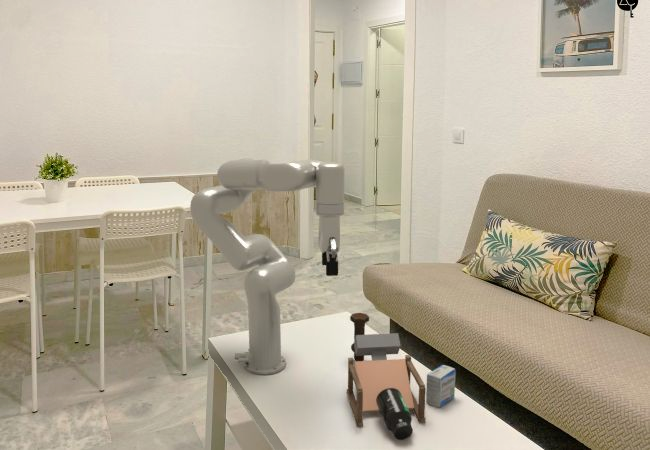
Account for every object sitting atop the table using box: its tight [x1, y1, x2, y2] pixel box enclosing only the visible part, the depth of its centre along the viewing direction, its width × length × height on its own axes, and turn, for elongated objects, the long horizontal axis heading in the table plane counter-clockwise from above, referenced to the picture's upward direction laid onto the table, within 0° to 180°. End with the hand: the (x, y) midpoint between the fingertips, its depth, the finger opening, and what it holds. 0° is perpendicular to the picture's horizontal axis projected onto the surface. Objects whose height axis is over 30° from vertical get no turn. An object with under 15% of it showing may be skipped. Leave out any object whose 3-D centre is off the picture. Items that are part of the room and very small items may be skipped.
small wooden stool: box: [346, 354, 427, 428], centre depth 158 cm, size 18×17×11 cm
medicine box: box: [425, 364, 457, 409], centre depth 162 cm, size 8×4×9 cm, turn 138°
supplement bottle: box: [376, 388, 414, 441], centre depth 148 cm, size 7×7×12 cm
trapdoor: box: [353, 332, 414, 413], centre depth 162 cm, size 14×21×5 cm
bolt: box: [349, 312, 370, 362], centre depth 184 cm, size 6×5×15 cm
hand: (329, 270), depth 164 cm, fingers open, 9 cm apart
